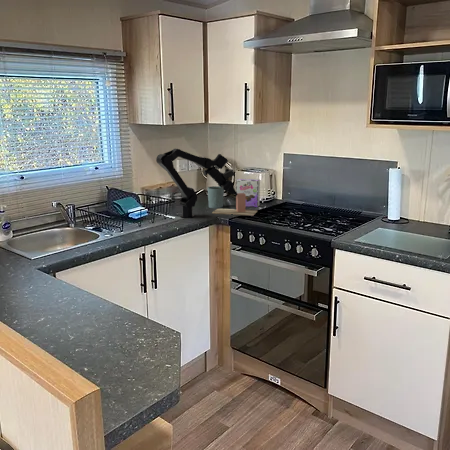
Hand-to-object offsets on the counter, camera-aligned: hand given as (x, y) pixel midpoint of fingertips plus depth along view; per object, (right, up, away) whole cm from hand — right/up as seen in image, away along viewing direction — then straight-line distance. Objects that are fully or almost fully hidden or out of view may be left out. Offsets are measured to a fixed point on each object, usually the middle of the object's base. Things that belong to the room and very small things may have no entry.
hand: (235, 193), depth 272 cm
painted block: (+3, -10, +3) cm, 11 cm away
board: (0, -11, +2) cm, 11 cm away
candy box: (+8, -6, +21) cm, 24 cm away
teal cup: (-11, -7, +18) cm, 23 cm away
